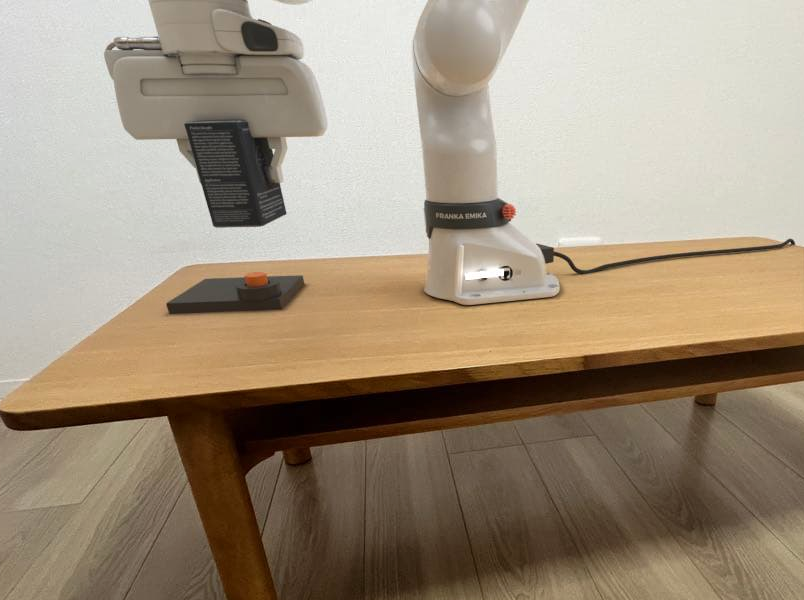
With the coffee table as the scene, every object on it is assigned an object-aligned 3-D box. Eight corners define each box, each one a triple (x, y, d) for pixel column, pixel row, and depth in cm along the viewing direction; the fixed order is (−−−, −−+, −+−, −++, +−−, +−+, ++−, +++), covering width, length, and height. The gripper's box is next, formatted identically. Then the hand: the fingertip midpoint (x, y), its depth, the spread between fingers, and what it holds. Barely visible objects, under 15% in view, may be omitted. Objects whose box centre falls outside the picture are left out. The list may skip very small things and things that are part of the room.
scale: (304, 284, 93) (300, 264, 92) (280, 310, 80) (275, 287, 79) (207, 288, 92) (201, 267, 90) (168, 315, 79) (160, 292, 77)
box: (241, 216, 66) (217, 119, 61) (288, 215, 66) (267, 118, 61) (211, 228, 59) (181, 119, 54) (263, 227, 59) (238, 119, 54)
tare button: (271, 282, 83) (268, 271, 82) (265, 288, 80) (262, 276, 79) (250, 283, 82) (248, 272, 82) (244, 289, 80) (241, 277, 79)
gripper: (78, 32, 51) (131, 189, 57) (303, 32, 53) (329, 184, 59) (115, 40, 56) (159, 183, 63) (317, 40, 58) (339, 178, 65)
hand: (243, 183), depth 61 cm, fingers closed on box, 6 cm apart
